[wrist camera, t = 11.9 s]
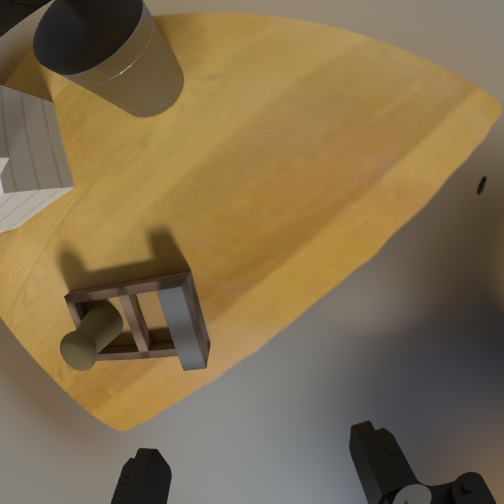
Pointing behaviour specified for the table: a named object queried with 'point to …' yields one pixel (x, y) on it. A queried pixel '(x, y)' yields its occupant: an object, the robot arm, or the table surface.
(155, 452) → the robot arm
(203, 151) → the table surface
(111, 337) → the cork
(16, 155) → the pizza boxes
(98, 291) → the divided wooden tray frame
